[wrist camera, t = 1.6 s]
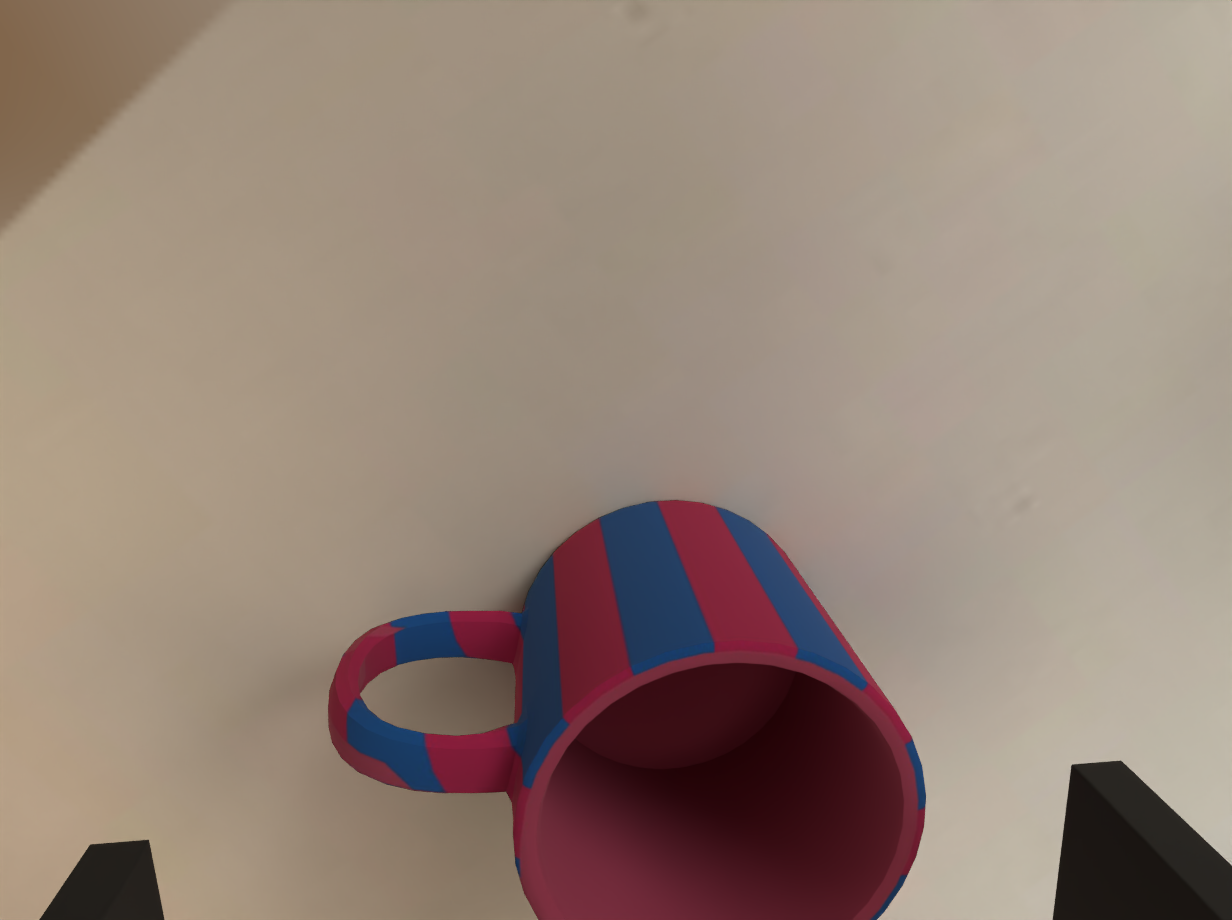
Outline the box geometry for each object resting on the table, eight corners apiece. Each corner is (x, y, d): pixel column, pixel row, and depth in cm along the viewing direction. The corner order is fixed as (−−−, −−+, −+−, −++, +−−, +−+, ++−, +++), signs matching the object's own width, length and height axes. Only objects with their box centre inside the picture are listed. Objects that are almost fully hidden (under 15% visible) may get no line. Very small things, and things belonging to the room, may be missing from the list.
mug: (745, 792, 23) (830, 1033, 16) (340, 687, 21) (254, 909, 15) (852, 547, 21) (995, 706, 15) (425, 413, 19) (370, 524, 13)
